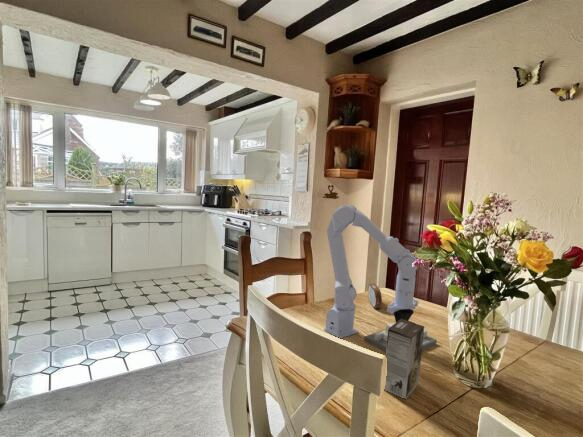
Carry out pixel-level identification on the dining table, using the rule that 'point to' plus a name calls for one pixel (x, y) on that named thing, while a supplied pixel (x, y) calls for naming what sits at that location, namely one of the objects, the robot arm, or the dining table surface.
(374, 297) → the clock
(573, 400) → the dining table surface
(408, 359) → the coffee box
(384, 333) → the switch tab
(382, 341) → the switch plate
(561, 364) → the dining table surface
